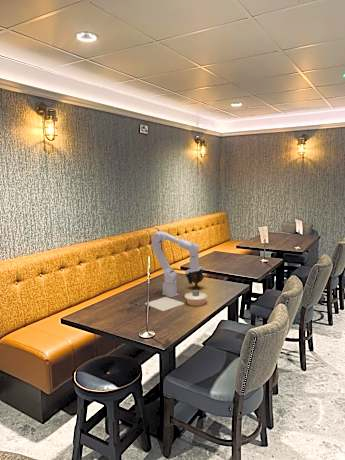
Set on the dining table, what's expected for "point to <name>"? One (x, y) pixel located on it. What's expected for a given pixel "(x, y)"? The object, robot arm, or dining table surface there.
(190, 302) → the bowl
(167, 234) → the robot arm
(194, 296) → the lid
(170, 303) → the mat
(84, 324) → the dining table surface
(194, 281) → the brown miniature tree
